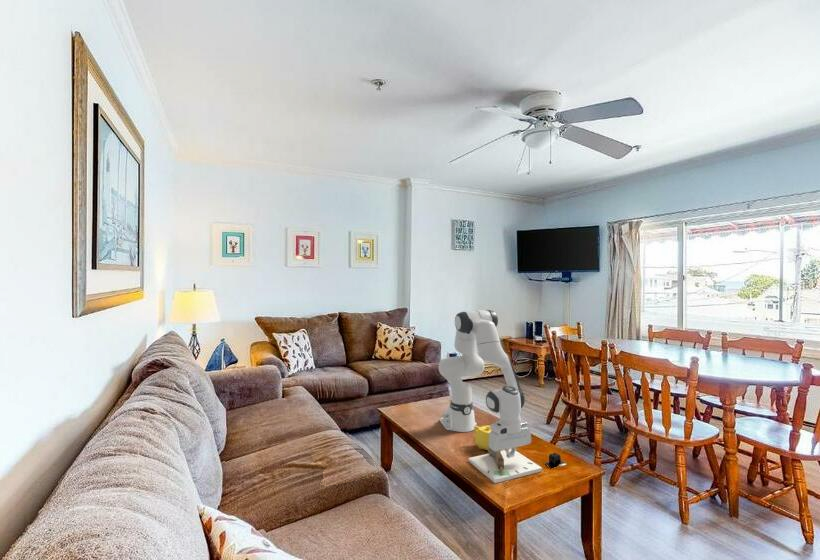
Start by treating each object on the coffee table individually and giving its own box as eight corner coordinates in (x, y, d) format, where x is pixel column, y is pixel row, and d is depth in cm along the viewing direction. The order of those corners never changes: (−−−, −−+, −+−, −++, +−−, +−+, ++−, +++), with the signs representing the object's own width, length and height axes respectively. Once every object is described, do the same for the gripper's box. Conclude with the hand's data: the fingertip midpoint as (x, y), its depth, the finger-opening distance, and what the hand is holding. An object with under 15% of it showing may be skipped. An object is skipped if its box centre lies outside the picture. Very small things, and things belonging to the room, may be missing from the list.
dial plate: (468, 461, 173) (468, 457, 173) (512, 451, 183) (512, 448, 183) (494, 483, 155) (494, 479, 155) (542, 471, 164) (542, 467, 164)
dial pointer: (488, 452, 178) (488, 442, 178) (499, 452, 178) (499, 442, 178) (497, 474, 158) (497, 463, 158) (509, 474, 158) (509, 463, 158)
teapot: (512, 450, 183) (512, 428, 183) (499, 458, 176) (499, 435, 176) (480, 439, 196) (480, 418, 196) (467, 446, 188) (467, 424, 188)
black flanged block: (558, 458, 177) (558, 448, 177) (571, 465, 171) (571, 455, 171) (538, 464, 171) (538, 454, 171) (551, 472, 165) (551, 461, 165)
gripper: (524, 419, 174) (524, 449, 174) (486, 426, 166) (486, 458, 167) (534, 424, 168) (534, 455, 169) (495, 431, 161) (495, 464, 161)
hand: (510, 456), depth 168 cm, fingers closed
